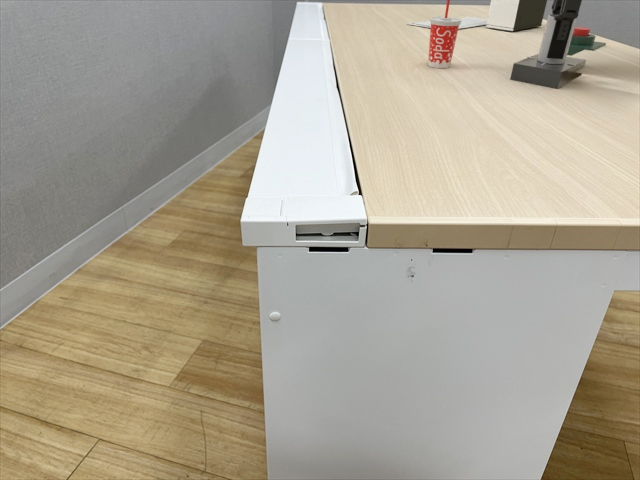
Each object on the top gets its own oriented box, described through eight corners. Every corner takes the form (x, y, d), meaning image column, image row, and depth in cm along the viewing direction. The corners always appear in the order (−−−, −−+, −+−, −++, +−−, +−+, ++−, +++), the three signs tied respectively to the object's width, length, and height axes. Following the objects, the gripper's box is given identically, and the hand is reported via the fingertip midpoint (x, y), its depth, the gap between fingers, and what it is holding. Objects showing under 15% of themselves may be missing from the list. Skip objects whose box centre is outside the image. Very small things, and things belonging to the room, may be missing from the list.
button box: (603, 52, 118) (608, 34, 116) (590, 58, 111) (596, 40, 109) (560, 46, 123) (565, 29, 121) (546, 52, 117) (551, 34, 115)
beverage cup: (418, 65, 102) (428, -10, 94) (432, 60, 106) (442, -12, 98) (446, 70, 99) (458, -7, 91) (458, 65, 103) (471, -9, 95)
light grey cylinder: (535, 57, 97) (547, 11, 92) (562, 59, 96) (575, 13, 91) (538, 63, 93) (550, 15, 88) (566, 65, 92) (580, 17, 87)
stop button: (589, 36, 115) (592, 28, 115) (585, 38, 113) (587, 30, 112) (574, 34, 117) (576, 26, 117) (569, 36, 115) (571, 28, 114)
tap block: (536, 67, 103) (540, 51, 101) (582, 75, 98) (587, 59, 96) (509, 79, 94) (513, 62, 92) (557, 88, 89) (563, 70, 87)
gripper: (558, -90, 89) (527, 44, 102) (577, -95, 74) (537, 63, 87) (603, -89, 88) (565, 47, 100) (630, -94, 73) (582, 67, 85)
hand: (552, 54), depth 94 cm, fingers closed on light grey cylinder, 5 cm apart
